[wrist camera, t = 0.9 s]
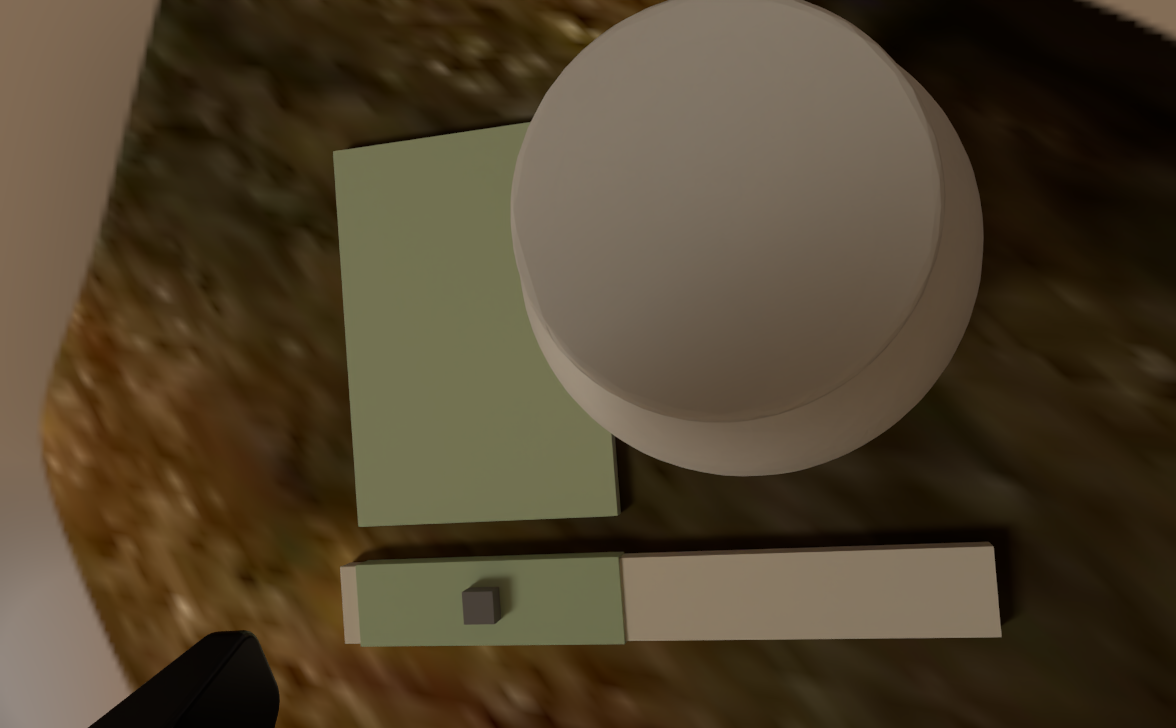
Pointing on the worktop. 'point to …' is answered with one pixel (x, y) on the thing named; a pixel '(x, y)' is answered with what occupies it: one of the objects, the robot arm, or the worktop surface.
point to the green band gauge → (547, 452)
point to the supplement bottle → (744, 235)
